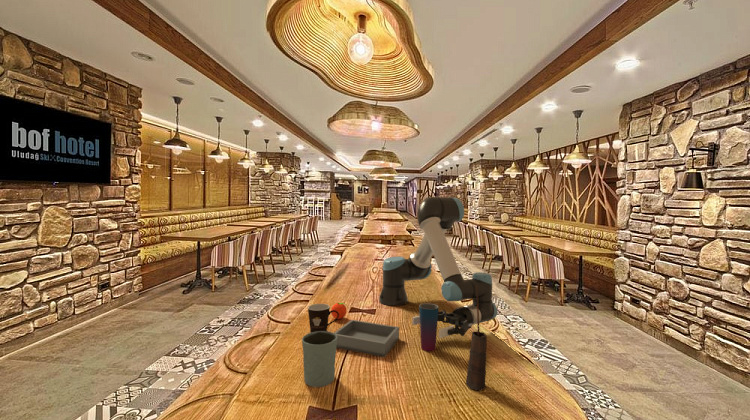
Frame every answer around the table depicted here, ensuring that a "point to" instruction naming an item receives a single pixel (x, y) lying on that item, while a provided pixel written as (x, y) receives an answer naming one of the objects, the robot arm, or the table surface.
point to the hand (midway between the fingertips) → (425, 327)
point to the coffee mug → (319, 317)
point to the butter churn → (477, 357)
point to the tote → (367, 337)
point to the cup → (428, 326)
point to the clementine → (339, 310)
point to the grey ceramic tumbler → (319, 358)
